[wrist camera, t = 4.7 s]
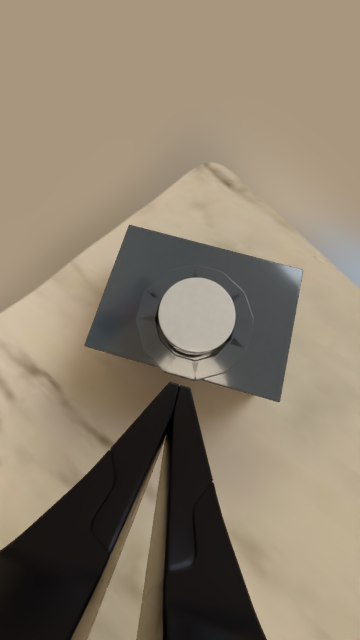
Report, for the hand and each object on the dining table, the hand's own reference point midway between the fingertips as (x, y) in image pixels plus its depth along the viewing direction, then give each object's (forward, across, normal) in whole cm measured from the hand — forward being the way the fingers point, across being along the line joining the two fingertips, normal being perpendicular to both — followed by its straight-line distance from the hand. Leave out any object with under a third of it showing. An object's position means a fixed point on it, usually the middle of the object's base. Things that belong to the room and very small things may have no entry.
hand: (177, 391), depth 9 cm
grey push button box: (+12, 0, +4) cm, 13 cm away
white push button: (+7, 0, +1) cm, 7 cm away
